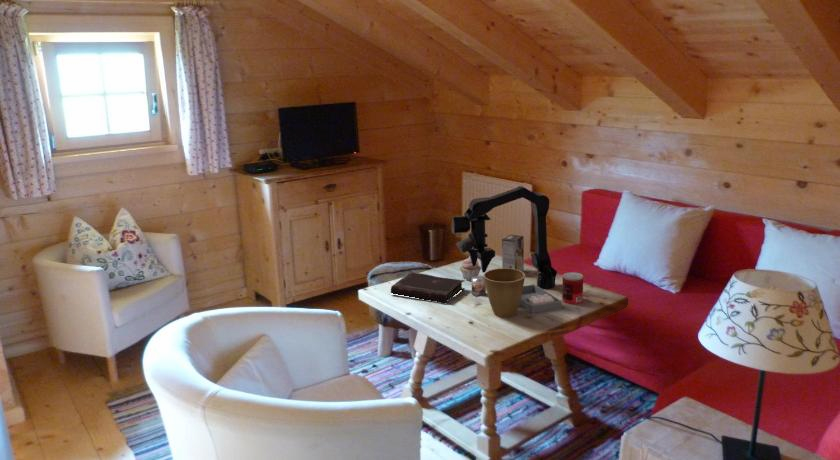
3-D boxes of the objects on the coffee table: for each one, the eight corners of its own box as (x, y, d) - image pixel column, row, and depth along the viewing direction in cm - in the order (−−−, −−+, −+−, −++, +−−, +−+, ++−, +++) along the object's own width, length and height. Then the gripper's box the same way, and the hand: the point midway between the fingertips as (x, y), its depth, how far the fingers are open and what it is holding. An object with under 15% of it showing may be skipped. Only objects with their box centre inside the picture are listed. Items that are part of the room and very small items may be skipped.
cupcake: (469, 273, 293) (469, 251, 290) (485, 277, 286) (485, 255, 284) (455, 278, 287) (454, 256, 284) (471, 283, 280) (470, 260, 278)
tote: (534, 292, 267) (534, 284, 266) (561, 310, 248) (561, 301, 247) (506, 296, 263) (506, 288, 262) (531, 315, 244) (531, 306, 243)
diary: (446, 306, 258) (445, 294, 257) (391, 297, 270) (390, 286, 268) (465, 289, 274) (465, 278, 273) (412, 282, 285) (412, 271, 284)
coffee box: (510, 268, 297) (510, 234, 293) (524, 270, 294) (524, 235, 290) (501, 274, 290) (501, 239, 286) (515, 276, 287) (515, 240, 282)
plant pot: (481, 309, 252) (480, 269, 247) (519, 306, 253) (519, 267, 248) (488, 324, 237) (487, 282, 233) (529, 321, 238) (529, 279, 234)
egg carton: (547, 303, 253) (547, 292, 252) (554, 307, 248) (554, 296, 247) (528, 306, 250) (528, 295, 249) (535, 310, 246) (535, 299, 245)
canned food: (583, 299, 257) (584, 272, 254) (581, 307, 250) (582, 279, 247) (563, 298, 260) (564, 271, 257) (560, 305, 252) (561, 278, 250)
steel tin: (482, 291, 270) (482, 275, 269) (488, 295, 265) (488, 279, 263) (469, 293, 269) (469, 277, 267) (475, 298, 263) (475, 281, 262)
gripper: (450, 228, 266) (451, 265, 270) (468, 239, 249) (469, 279, 253) (475, 225, 269) (476, 261, 273) (495, 236, 252) (496, 274, 256)
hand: (478, 269), depth 264 cm, fingers open, 9 cm apart
